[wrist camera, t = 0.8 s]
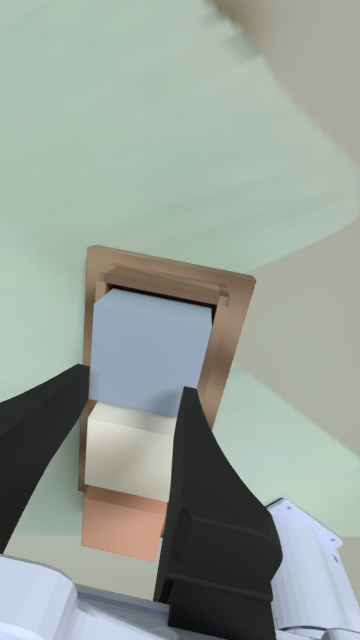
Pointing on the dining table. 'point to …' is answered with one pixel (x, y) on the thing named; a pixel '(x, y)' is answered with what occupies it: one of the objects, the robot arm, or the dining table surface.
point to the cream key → (130, 450)
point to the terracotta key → (122, 523)
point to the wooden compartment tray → (180, 285)
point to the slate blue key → (146, 350)
